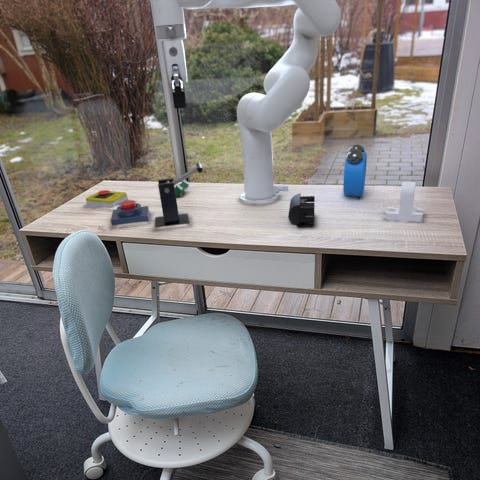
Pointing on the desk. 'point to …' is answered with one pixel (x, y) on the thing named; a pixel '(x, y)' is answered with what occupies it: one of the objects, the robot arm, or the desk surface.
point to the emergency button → (105, 199)
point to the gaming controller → (181, 188)
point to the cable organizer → (405, 206)
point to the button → (128, 205)
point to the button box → (130, 215)
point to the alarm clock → (355, 171)
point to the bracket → (169, 206)
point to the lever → (188, 174)
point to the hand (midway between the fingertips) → (180, 105)
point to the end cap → (302, 211)
